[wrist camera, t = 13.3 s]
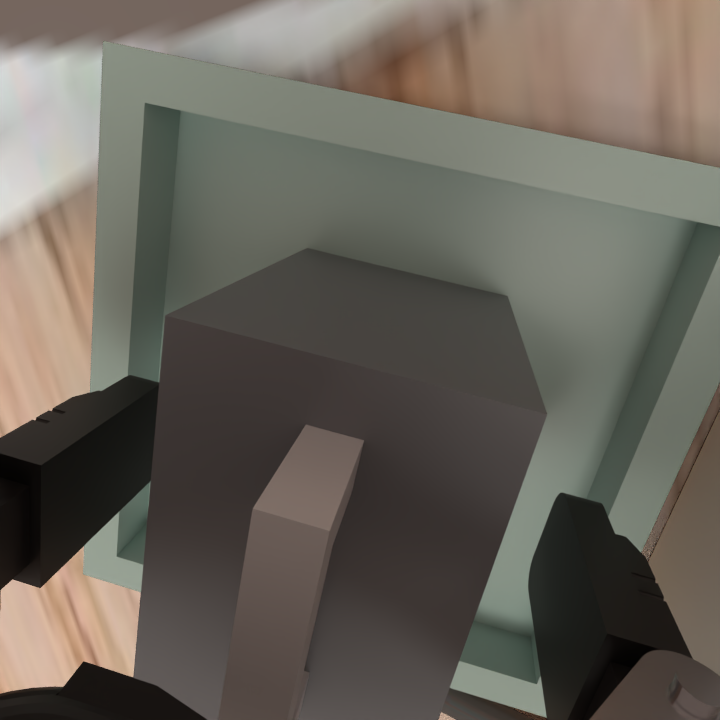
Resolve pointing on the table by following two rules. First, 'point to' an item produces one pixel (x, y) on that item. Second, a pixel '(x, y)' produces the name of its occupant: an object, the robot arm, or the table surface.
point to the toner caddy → (329, 489)
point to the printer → (695, 556)
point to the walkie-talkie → (477, 708)
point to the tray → (427, 258)
